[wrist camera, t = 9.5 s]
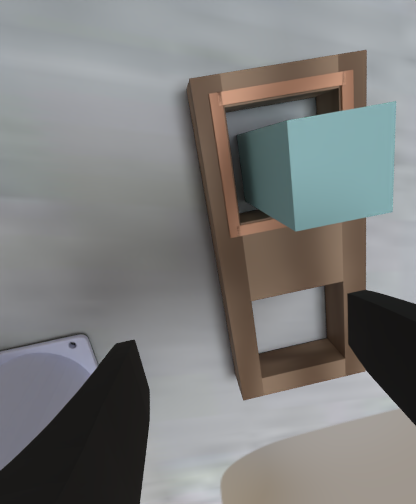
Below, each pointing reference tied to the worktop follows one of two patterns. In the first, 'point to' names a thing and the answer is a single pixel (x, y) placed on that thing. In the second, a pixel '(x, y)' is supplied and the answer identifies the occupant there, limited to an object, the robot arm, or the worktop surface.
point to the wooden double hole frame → (279, 225)
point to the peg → (322, 167)
